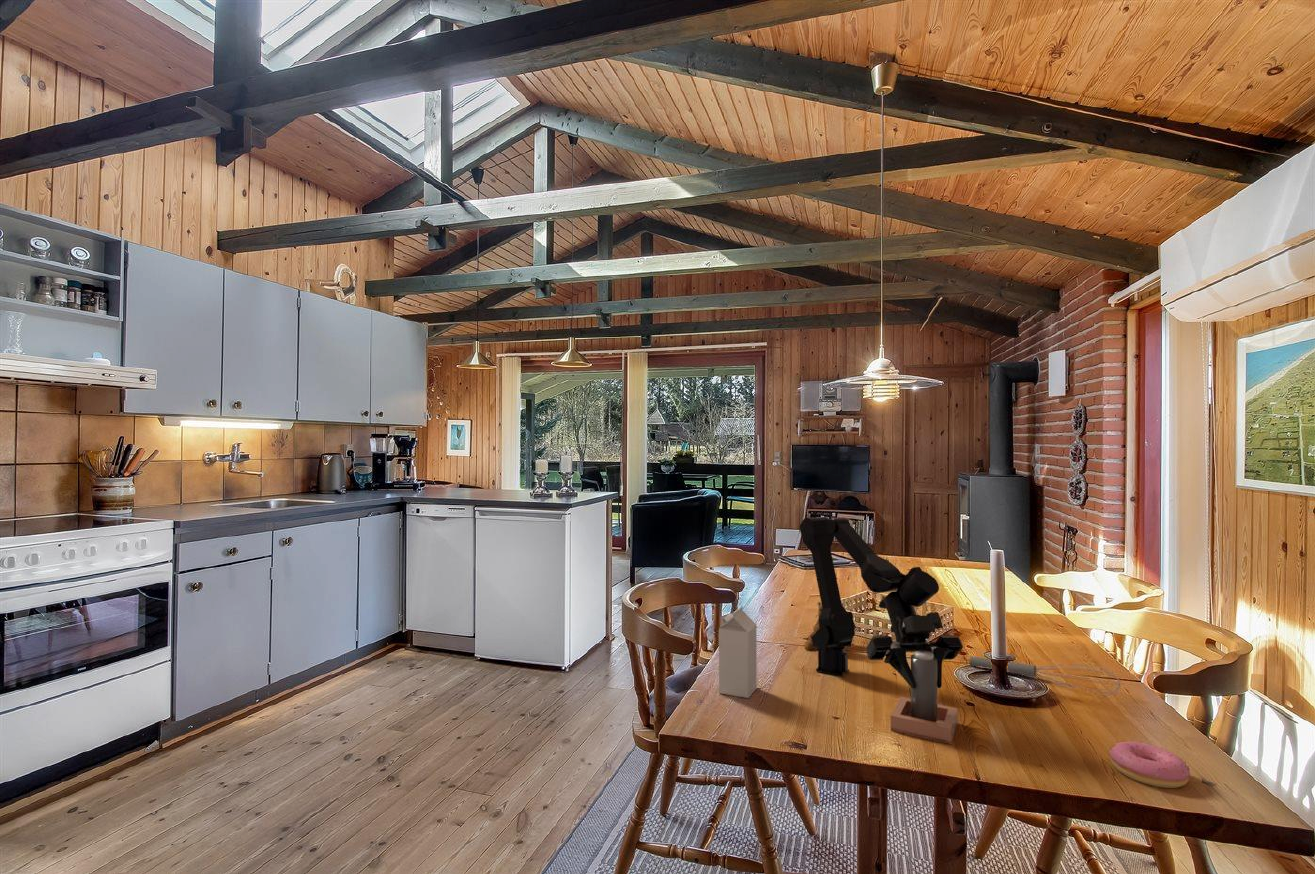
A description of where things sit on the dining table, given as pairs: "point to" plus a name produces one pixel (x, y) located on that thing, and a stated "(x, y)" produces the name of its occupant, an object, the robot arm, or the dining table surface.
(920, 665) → the pepper mill
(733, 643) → the milk carton
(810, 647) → the stuffed squirrel
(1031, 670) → the kitchen whisk
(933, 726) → the terracotta holder
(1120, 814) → the dining table surface
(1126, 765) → the doughnut
